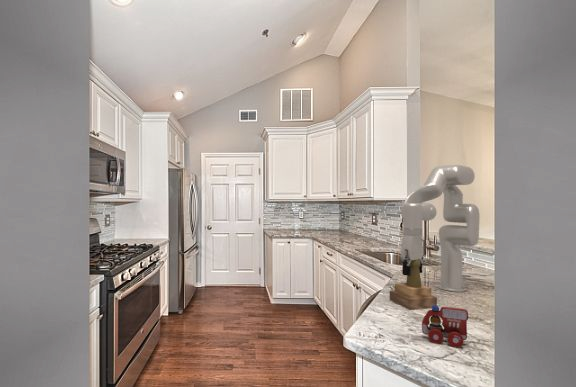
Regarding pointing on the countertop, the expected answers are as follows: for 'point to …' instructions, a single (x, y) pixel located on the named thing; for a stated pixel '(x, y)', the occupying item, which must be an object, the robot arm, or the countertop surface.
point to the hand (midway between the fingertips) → (412, 273)
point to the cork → (414, 275)
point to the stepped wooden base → (412, 297)
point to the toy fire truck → (446, 325)
